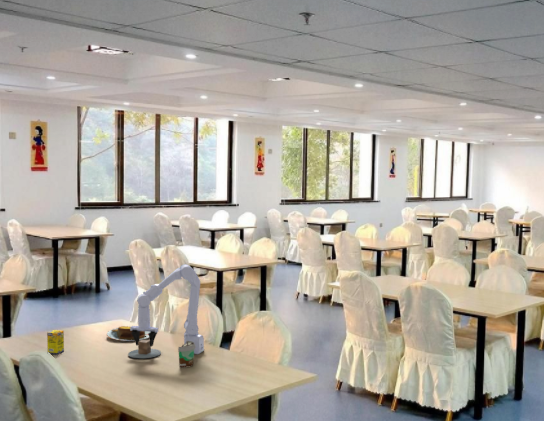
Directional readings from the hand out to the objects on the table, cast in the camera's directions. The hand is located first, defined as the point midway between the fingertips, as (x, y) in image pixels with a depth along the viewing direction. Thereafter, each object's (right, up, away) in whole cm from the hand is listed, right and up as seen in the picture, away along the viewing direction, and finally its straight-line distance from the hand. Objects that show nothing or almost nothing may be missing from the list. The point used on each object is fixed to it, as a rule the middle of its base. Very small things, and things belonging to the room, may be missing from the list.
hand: (144, 345), depth 334 cm
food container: (+24, -6, -16) cm, 30 cm away
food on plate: (-15, -3, +36) cm, 39 cm away
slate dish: (0, -5, 0) cm, 5 cm away
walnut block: (0, -4, 0) cm, 4 cm away
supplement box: (-46, -5, +5) cm, 46 cm away
